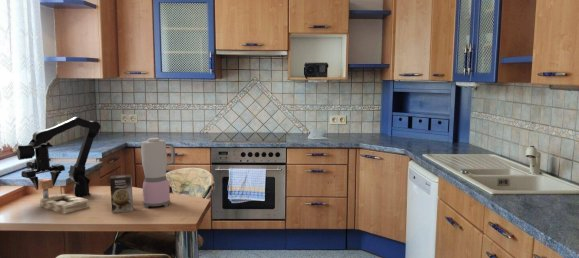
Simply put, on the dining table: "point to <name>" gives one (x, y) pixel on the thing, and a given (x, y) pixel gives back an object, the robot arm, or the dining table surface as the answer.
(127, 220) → the dining table surface
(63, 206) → the keyhole box
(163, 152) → the blender
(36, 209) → the dining table surface
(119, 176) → the coffee box
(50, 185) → the wooden block metal peg
